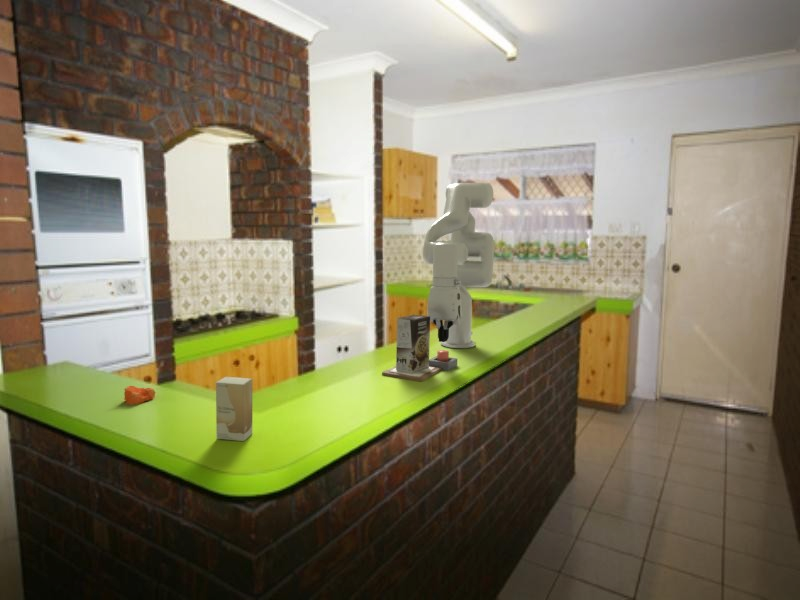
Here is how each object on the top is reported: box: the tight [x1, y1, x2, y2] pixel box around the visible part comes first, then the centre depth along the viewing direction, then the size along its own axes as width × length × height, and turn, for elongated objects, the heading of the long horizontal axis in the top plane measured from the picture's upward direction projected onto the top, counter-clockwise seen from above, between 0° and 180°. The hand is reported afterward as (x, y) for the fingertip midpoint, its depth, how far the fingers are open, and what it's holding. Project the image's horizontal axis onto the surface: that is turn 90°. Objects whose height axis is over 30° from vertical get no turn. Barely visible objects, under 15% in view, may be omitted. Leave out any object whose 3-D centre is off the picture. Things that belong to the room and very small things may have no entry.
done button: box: [436, 349, 450, 362], centre depth 166 cm, size 4×4×3 cm
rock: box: [123, 385, 156, 406], centre depth 131 cm, size 12×12×4 cm
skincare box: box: [215, 376, 253, 442], centre depth 109 cm, size 6×4×12 cm
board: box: [381, 365, 443, 382], centre depth 159 cm, size 14×13×1 cm
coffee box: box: [395, 314, 431, 374], centre depth 158 cm, size 9×6×16 cm
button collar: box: [429, 355, 458, 372], centre depth 166 cm, size 7×7×2 cm
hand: (443, 341), depth 165 cm, fingers closed
